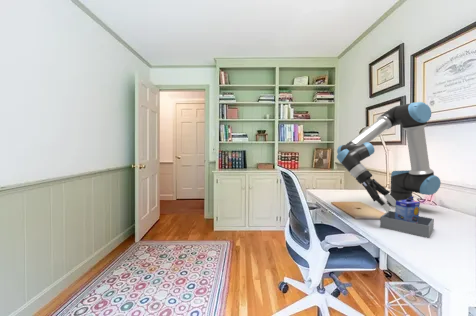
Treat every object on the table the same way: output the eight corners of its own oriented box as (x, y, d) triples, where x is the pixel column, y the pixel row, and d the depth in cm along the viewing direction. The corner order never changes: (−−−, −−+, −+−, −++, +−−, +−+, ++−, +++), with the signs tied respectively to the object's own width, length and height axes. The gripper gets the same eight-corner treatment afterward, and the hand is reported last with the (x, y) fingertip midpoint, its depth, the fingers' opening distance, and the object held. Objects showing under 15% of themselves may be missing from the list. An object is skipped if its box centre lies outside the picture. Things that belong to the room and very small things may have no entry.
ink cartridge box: (405, 229, 105) (407, 198, 104) (393, 226, 110) (394, 195, 109) (419, 227, 109) (420, 196, 108) (406, 223, 114) (408, 194, 113)
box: (388, 220, 121) (389, 210, 121) (433, 229, 108) (433, 218, 108) (380, 227, 111) (380, 216, 110) (428, 238, 98) (429, 226, 97)
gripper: (363, 176, 133) (392, 207, 124) (346, 180, 116) (379, 217, 106) (374, 168, 129) (405, 199, 120) (358, 171, 112) (393, 208, 102)
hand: (393, 207), depth 113 cm, fingers open, 13 cm apart
